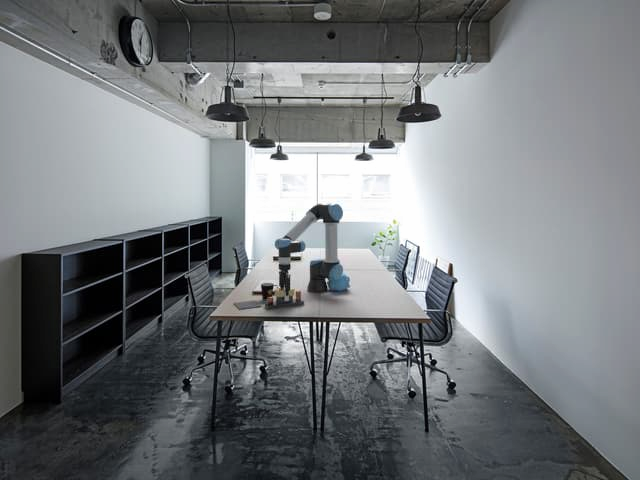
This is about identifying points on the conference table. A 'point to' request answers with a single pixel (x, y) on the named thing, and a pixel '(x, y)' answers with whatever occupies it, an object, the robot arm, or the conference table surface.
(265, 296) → the coffee mug
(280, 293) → the tan rectangular brick
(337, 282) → the decorative pot
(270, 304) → the hand plane
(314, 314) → the conference table surface
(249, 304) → the rubber mat
